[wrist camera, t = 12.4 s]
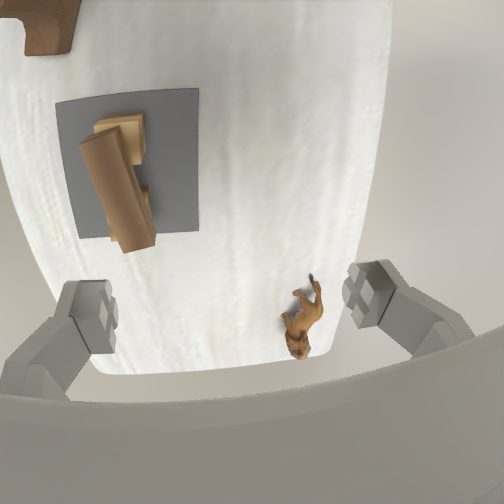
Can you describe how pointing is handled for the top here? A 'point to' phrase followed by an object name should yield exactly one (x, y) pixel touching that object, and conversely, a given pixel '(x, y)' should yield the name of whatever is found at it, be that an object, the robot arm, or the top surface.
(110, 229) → the cube
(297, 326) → the lion figurine
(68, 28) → the wooden block
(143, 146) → the cube
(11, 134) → the top surface
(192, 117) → the mat
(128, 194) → the lintel
